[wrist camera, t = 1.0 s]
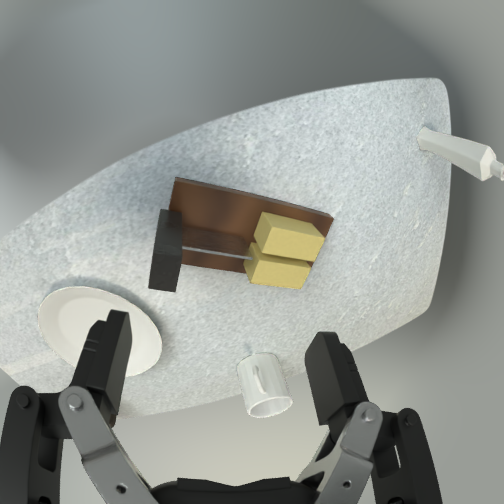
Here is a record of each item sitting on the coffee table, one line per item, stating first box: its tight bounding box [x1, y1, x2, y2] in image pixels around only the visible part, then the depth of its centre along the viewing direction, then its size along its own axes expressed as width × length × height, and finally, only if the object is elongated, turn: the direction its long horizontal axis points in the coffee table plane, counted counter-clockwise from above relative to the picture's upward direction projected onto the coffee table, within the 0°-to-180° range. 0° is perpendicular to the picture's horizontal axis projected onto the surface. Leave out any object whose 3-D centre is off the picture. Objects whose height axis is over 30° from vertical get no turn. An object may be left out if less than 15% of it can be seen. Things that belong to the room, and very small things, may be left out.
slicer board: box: [168, 177, 334, 273], centre depth 33 cm, size 20×10×2 cm, turn 72°
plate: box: [37, 286, 162, 377], centre depth 36 cm, size 21×21×2 cm
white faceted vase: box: [417, 126, 504, 181], centre depth 26 cm, size 5×4×15 cm
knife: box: [148, 209, 253, 292], centre depth 27 cm, size 10×4×9 cm, turn 72°
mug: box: [237, 353, 293, 418], centre depth 44 cm, size 8×12×10 cm, turn 15°
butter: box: [243, 212, 325, 289], centre depth 32 cm, size 7×7×4 cm
